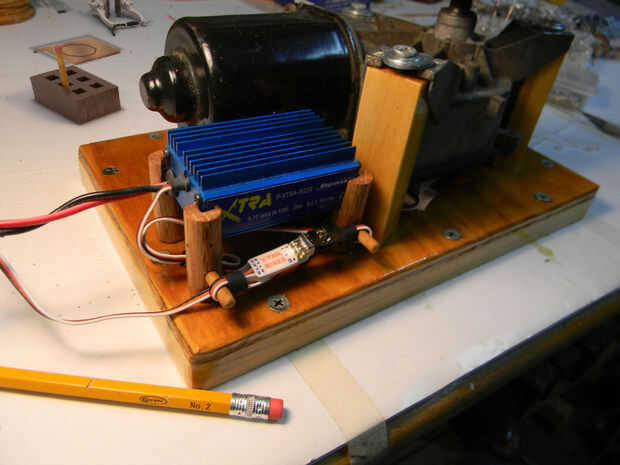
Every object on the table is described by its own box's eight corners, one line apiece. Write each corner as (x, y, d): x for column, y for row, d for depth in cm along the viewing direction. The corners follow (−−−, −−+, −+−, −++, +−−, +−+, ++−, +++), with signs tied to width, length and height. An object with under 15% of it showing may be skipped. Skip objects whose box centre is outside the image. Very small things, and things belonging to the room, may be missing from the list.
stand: (81, 128, 92) (75, 100, 89) (36, 104, 97) (29, 76, 93) (121, 113, 99) (118, 86, 95) (77, 91, 104) (72, 64, 100)
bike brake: (83, 10, 141) (113, 43, 133) (81, -14, 136) (112, 19, 128) (127, 7, 149) (158, 38, 141) (127, -15, 144) (159, 16, 136)
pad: (66, 67, 112) (65, 64, 112) (33, 52, 116) (33, 49, 116) (120, 52, 123) (120, 50, 123) (89, 39, 127) (88, 36, 127)
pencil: (70, 114, 96) (56, 47, 88) (66, 112, 97) (52, 45, 88) (75, 112, 97) (62, 45, 88) (71, 110, 97) (58, 43, 89)
